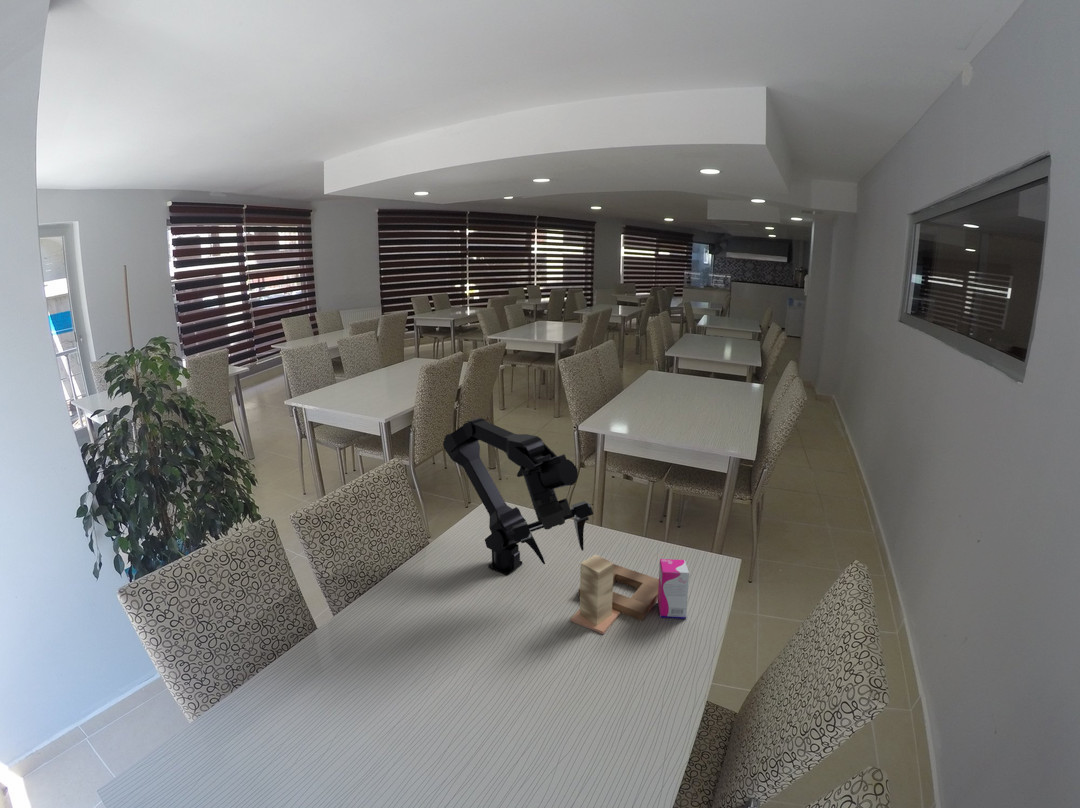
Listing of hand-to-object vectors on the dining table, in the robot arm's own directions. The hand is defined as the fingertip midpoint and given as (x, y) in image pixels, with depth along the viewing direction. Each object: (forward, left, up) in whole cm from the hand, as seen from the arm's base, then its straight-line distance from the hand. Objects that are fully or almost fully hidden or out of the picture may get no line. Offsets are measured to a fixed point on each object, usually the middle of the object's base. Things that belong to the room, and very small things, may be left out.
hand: (563, 556), depth 129 cm
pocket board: (+11, +9, -11) cm, 18 cm away
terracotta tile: (+10, -2, -11) cm, 15 cm away
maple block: (+10, -2, -10) cm, 14 cm away
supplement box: (+23, +9, -11) cm, 27 cm away
